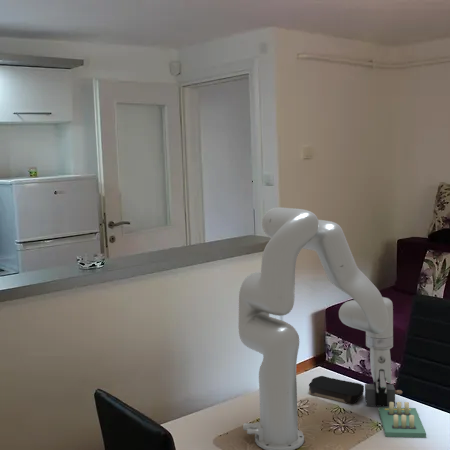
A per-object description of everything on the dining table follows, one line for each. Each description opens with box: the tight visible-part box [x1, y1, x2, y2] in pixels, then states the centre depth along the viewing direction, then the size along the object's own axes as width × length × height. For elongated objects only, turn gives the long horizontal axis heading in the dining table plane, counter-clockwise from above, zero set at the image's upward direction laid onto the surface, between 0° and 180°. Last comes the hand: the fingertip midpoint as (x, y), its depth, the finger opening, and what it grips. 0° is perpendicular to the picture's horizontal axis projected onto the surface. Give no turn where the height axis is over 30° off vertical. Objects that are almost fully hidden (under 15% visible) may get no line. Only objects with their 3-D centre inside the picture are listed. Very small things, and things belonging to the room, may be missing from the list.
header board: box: [378, 401, 427, 439], centre depth 160 cm, size 10×15×4 cm, turn 172°
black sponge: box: [308, 375, 365, 405], centre depth 181 cm, size 16×8×4 cm, turn 52°
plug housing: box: [364, 383, 403, 408], centre depth 173 cm, size 10×4×5 cm, turn 82°
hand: (379, 400), depth 173 cm, fingers open, 5 cm apart
